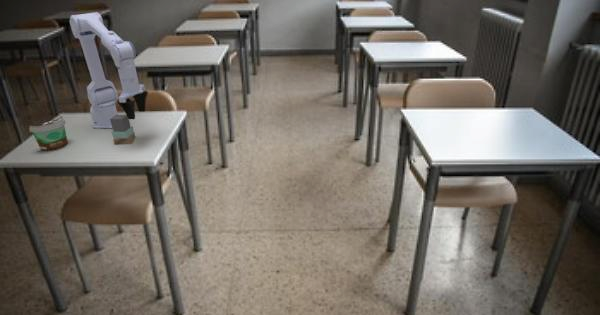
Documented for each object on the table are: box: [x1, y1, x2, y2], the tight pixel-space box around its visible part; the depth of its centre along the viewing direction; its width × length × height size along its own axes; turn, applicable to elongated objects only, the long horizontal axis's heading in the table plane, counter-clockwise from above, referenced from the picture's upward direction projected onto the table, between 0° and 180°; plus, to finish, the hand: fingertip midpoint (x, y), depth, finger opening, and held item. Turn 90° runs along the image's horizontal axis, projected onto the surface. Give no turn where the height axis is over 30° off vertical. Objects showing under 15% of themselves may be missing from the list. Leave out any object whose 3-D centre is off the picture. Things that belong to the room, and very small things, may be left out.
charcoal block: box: [110, 114, 131, 132], centre depth 154 cm, size 4×4×5 cm
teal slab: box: [111, 125, 135, 140], centre depth 155 cm, size 6×6×2 cm
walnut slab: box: [112, 132, 136, 146], centre depth 156 cm, size 6×6×2 cm
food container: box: [29, 115, 69, 152], centre depth 151 cm, size 12×6×10 cm, turn 148°
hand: (137, 115), depth 151 cm, fingers open, 7 cm apart
